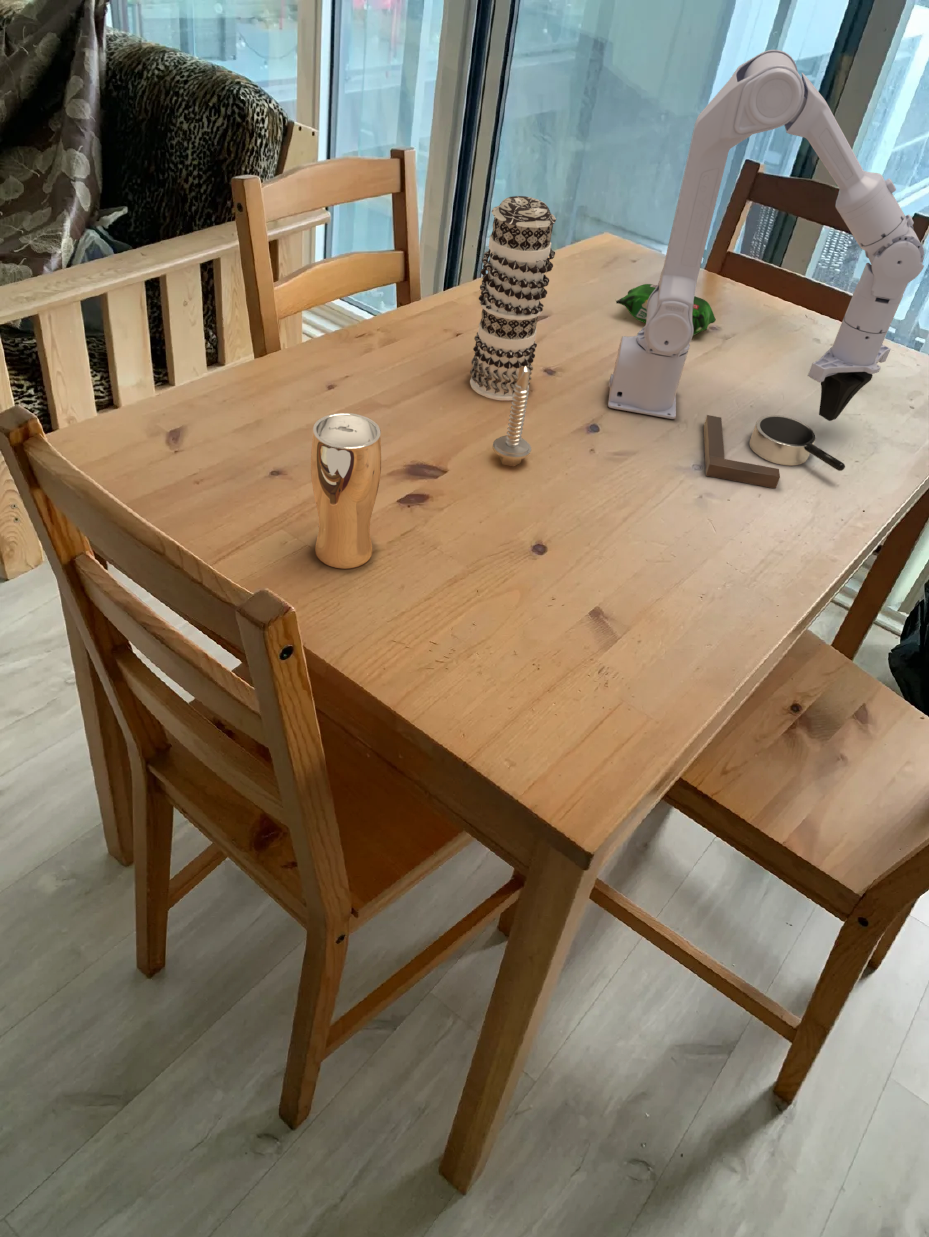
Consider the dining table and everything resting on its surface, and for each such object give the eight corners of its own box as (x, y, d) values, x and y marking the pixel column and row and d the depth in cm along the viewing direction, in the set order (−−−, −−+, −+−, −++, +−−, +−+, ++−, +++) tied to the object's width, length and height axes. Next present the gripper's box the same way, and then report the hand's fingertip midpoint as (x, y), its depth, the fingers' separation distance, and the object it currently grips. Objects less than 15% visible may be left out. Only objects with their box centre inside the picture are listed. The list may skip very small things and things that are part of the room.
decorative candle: (542, 398, 130) (576, 215, 113) (481, 405, 127) (507, 217, 110) (516, 368, 136) (544, 189, 119) (457, 373, 133) (478, 190, 116)
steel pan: (737, 442, 127) (744, 421, 125) (775, 429, 131) (782, 408, 128) (816, 494, 119) (825, 472, 117) (854, 478, 123) (864, 457, 121)
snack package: (624, 304, 158) (631, 274, 154) (713, 329, 154) (722, 299, 150) (611, 319, 153) (617, 288, 149) (702, 345, 149) (711, 314, 145)
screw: (495, 447, 119) (532, 455, 118) (486, 466, 116) (524, 475, 115) (510, 353, 110) (549, 361, 110) (500, 370, 107) (541, 379, 106)
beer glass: (343, 523, 104) (346, 404, 94) (389, 552, 101) (397, 432, 91) (297, 550, 99) (295, 427, 89) (343, 580, 96) (347, 457, 86)
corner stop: (705, 476, 119) (709, 464, 118) (703, 426, 129) (706, 414, 128) (775, 488, 119) (780, 477, 118) (767, 437, 129) (772, 426, 127)
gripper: (857, 347, 114) (817, 442, 123) (924, 327, 121) (882, 418, 130) (811, 323, 118) (776, 417, 127) (879, 305, 125) (841, 396, 134)
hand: (827, 416), depth 129 cm, fingers closed
